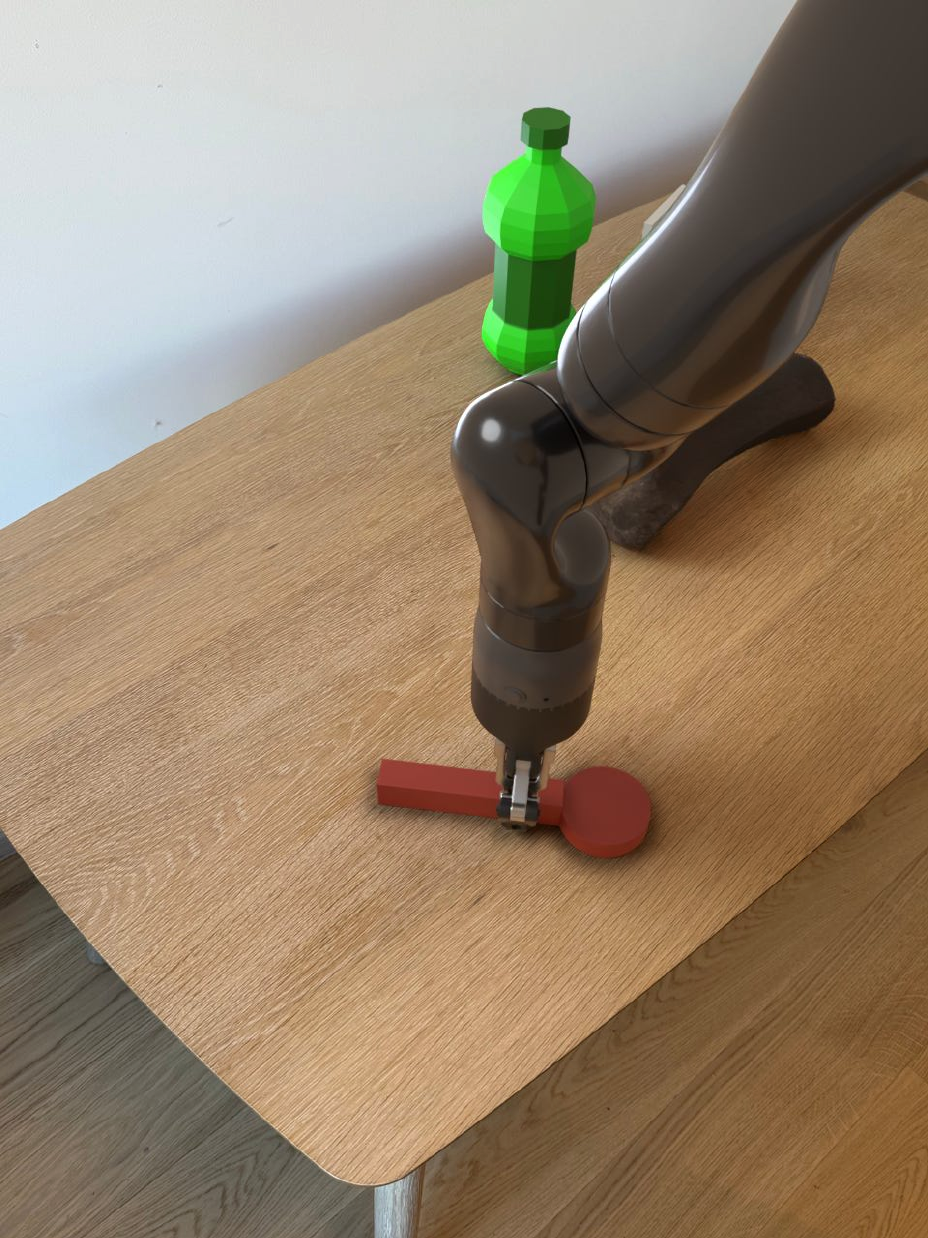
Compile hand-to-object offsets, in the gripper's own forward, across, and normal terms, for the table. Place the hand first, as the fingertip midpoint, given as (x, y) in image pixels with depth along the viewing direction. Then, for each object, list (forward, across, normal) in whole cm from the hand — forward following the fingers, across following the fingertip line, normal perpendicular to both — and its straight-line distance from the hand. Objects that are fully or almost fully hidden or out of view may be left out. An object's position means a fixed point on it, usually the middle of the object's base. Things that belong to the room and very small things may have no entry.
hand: (518, 806), depth 78 cm
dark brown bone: (0, +38, -13) cm, 40 cm away
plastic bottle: (0, +53, +4) cm, 53 cm away
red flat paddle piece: (0, 0, 0) cm, 0 cm away
